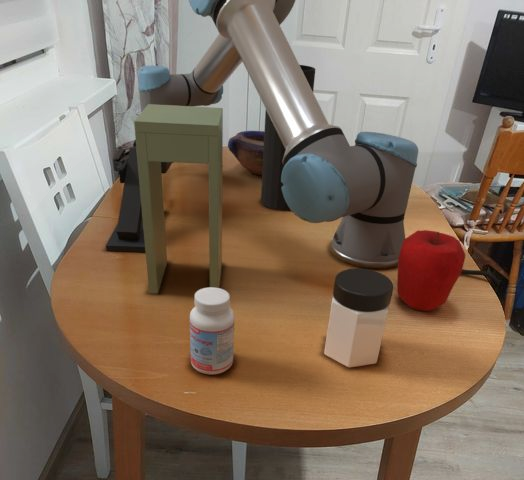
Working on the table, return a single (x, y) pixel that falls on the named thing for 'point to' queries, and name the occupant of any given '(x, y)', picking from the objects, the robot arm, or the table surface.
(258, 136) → the bowl
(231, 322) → the pill bottle
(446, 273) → the apple
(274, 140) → the vase
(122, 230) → the black rectangular bar
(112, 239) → the base pad
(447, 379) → the table surface
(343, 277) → the jar
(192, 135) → the stand
